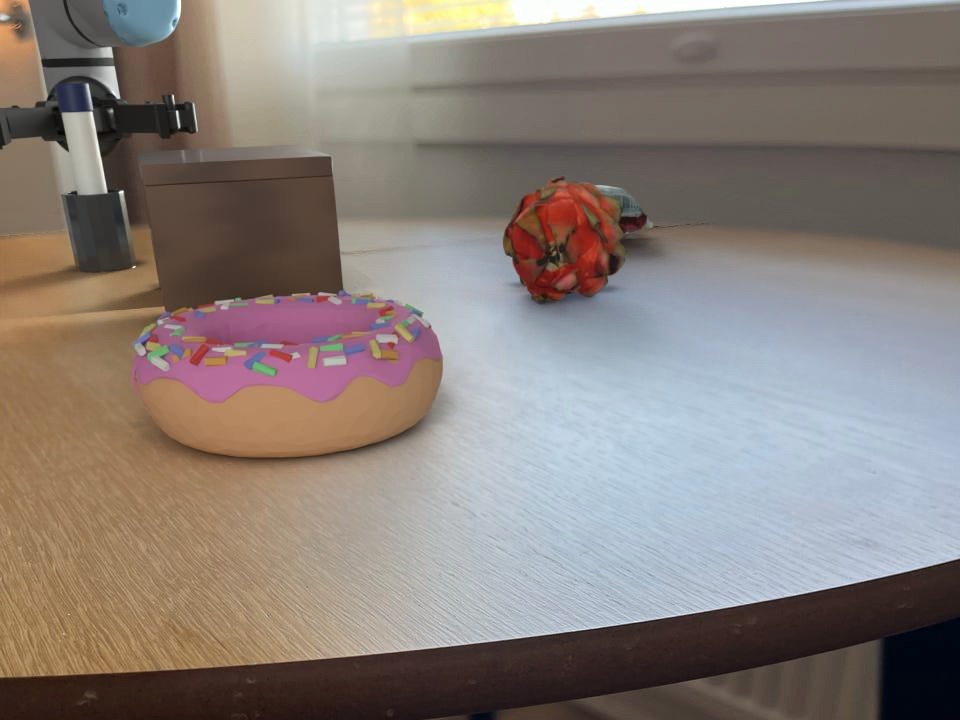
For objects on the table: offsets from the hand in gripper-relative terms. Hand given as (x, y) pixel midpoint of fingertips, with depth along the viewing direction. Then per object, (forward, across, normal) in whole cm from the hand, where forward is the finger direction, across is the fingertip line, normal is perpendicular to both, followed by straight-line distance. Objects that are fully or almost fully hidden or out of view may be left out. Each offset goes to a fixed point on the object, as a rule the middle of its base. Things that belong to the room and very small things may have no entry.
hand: (81, 124), depth 88 cm
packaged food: (+7, -44, -12) cm, 46 cm away
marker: (+5, 0, -11) cm, 12 cm away
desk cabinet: (+24, -10, -11) cm, 28 cm away
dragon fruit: (+32, -32, -12) cm, 47 cm away
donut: (+55, -9, -12) cm, 57 cm away
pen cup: (+5, 0, -11) cm, 12 cm away
